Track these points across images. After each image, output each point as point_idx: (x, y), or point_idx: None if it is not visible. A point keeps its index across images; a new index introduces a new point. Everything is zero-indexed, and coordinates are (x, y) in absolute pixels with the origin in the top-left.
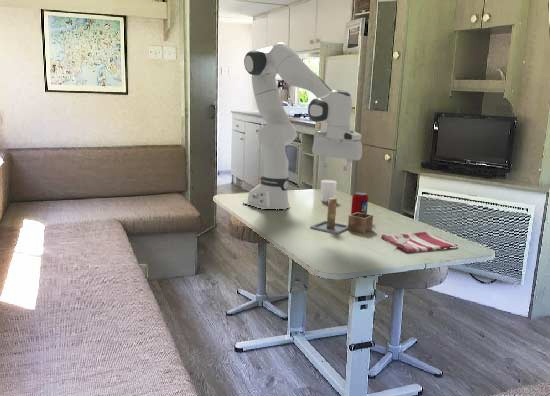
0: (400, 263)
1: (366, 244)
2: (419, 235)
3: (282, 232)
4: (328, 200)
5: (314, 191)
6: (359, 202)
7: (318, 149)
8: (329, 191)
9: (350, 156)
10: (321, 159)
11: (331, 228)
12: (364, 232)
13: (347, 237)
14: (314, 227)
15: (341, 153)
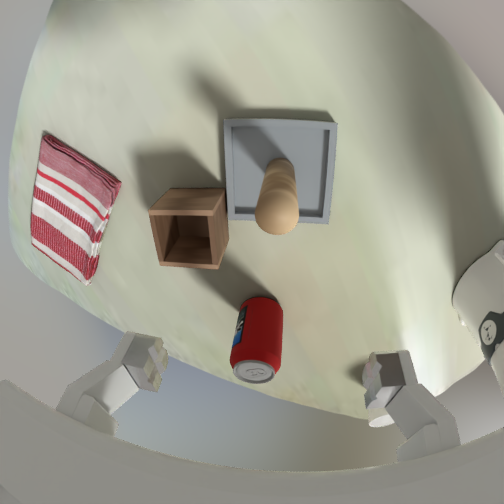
0: (33, 69)
1: (121, 111)
2: (85, 259)
3: (388, 41)
4: None
5: None
6: (246, 338)
7: (493, 493)
8: None
9: (20, 422)
10: (434, 411)
11: (271, 161)
12: (167, 191)
13: (191, 127)
14: (319, 121)
15: (111, 498)
